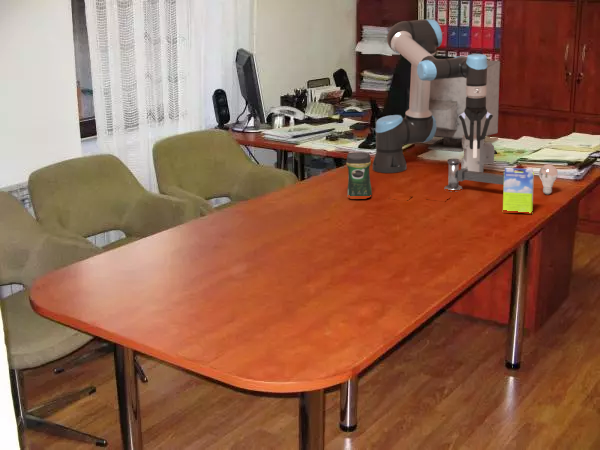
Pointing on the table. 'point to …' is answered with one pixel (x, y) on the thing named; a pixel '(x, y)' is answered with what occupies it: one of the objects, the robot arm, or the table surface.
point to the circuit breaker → (483, 155)
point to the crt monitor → (461, 108)
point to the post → (453, 175)
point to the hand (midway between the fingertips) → (474, 157)
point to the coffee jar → (359, 174)
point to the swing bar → (480, 176)
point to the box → (518, 190)
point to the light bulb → (548, 177)
